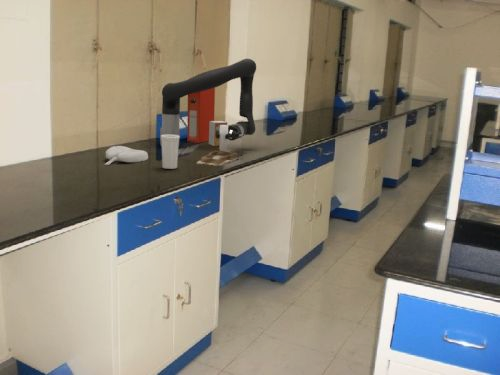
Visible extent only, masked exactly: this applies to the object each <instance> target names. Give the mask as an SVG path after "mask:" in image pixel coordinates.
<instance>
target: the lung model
mask: <svg viewBox="0 0 500 375" xmlns="http://www.w3.org/2000/svg"><path fill="white" fill-rule="evenodd" d="M105 158H106V159H108V161H107V162H106V163H104V165H105V166H109V165H111V164H112V163H115V162H123V163H124V162H125V163H140V162H141V161H142V162H145V161H147V160H149V154H148V152H147V151H145V150H143V149H142V150H141V149H134V148H130V147H128V146H123V145H117V146H116V145H113V146H111V147H109V148H108V149H107V150H106V151H105Z"/></svg>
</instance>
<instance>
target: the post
mask: <svg viewBox="0 0 500 375" xmlns="http://www.w3.org/2000/svg"><path fill="white" fill-rule="evenodd" d="M228 126H229V125H228V124H227V125H220V142H219V150H218V151H223V152H228V149H229V148H228V146H229V140H228V139H225V135H226V134H228Z"/></svg>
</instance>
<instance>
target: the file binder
mask: <svg viewBox="0 0 500 375" xmlns="http://www.w3.org/2000/svg"><path fill="white" fill-rule="evenodd" d="M215 93H216V87H215V88H212V89H209V90H205V91H202V92H197V93H192V94H189V95H187V138H186V139H187V142H188V141H190V142H189V143H193V142H194V143H193V144H201V143H204V142H209V123H210V121H215V96H216V94H215Z"/></svg>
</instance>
